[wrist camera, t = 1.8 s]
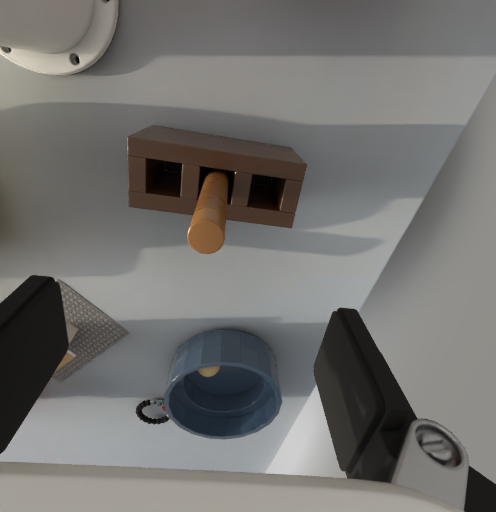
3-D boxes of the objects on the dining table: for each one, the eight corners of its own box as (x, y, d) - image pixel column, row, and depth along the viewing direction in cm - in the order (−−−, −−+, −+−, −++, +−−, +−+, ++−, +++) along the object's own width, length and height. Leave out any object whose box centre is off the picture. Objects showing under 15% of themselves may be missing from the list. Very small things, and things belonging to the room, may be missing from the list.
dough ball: (197, 362, 45) (194, 381, 42) (198, 346, 43) (196, 364, 40) (219, 364, 45) (218, 382, 42) (221, 348, 44) (220, 366, 41)
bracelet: (179, 412, 51) (178, 418, 50) (151, 424, 52) (150, 430, 51) (158, 392, 48) (157, 398, 48) (129, 405, 50) (127, 411, 49)
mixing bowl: (171, 395, 49) (162, 435, 43) (175, 320, 42) (166, 357, 36) (265, 402, 51) (269, 442, 45) (285, 331, 44) (292, 367, 38)
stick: (209, 172, 33) (185, 252, 17) (211, 153, 32) (188, 218, 16) (228, 175, 33) (222, 256, 17) (230, 156, 32) (226, 223, 16)
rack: (280, 199, 34) (291, 228, 27) (151, 181, 33) (128, 206, 26) (291, 147, 32) (307, 164, 25) (151, 125, 30) (126, 136, 23)
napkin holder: (88, 336, 43) (61, 381, 36) (56, 359, 45) (26, 406, 38) (66, 321, 41) (35, 365, 35) (35, 346, 43) (-1, 392, 37)
